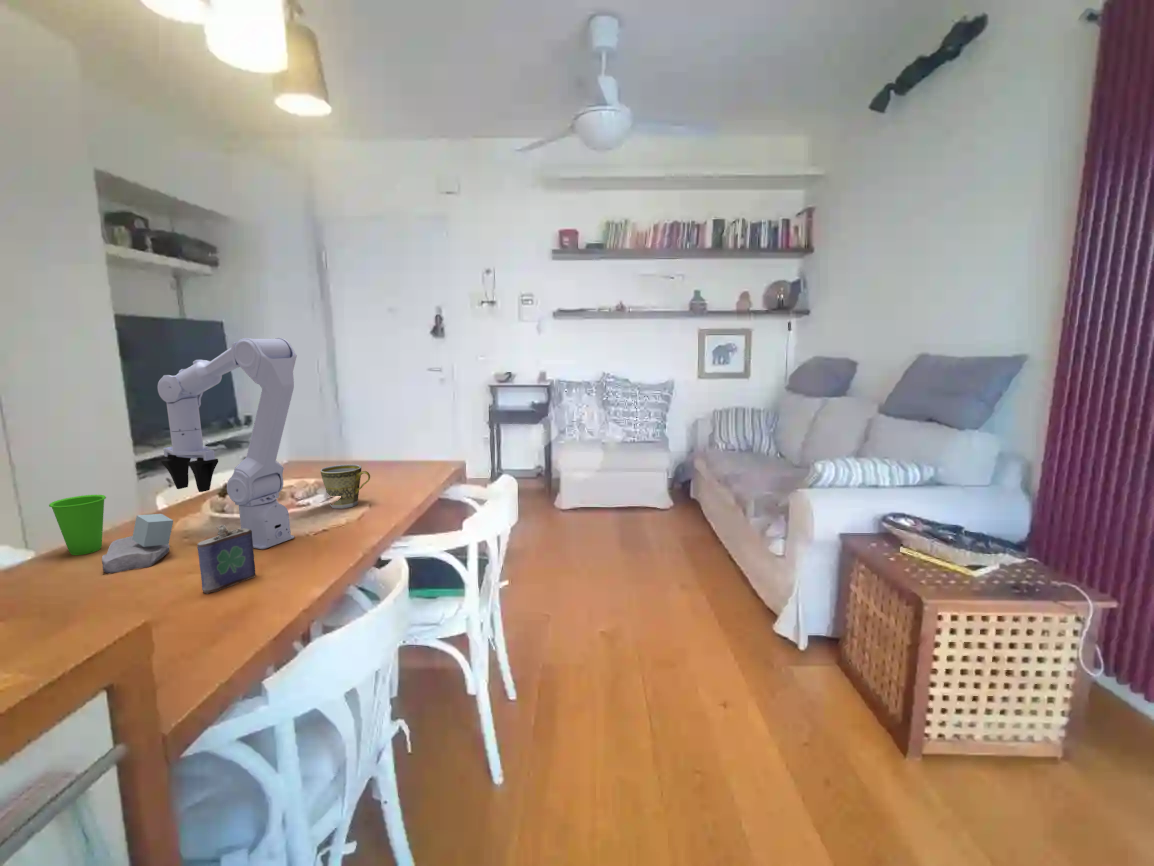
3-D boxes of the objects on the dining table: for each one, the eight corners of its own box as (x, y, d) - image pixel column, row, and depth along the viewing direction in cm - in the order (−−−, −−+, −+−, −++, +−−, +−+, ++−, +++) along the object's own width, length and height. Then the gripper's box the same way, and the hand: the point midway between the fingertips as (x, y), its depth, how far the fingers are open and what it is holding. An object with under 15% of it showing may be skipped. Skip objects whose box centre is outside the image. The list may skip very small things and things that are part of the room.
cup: (110, 540, 128) (103, 492, 126) (115, 550, 121) (108, 499, 119) (56, 551, 121) (47, 500, 120) (58, 562, 115) (50, 509, 113)
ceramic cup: (315, 510, 149) (312, 472, 147) (337, 499, 158) (334, 463, 157) (362, 511, 146) (359, 473, 145) (381, 501, 156) (378, 464, 155)
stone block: (170, 556, 123) (111, 556, 118) (173, 534, 123) (113, 533, 118) (163, 577, 113) (98, 578, 108) (165, 553, 113) (100, 553, 108)
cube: (168, 544, 117) (173, 520, 116) (143, 546, 113) (148, 522, 112) (156, 537, 119) (161, 513, 118) (131, 539, 115) (136, 515, 114)
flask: (207, 595, 99) (200, 534, 97) (198, 591, 100) (190, 532, 98) (259, 575, 107) (253, 519, 105) (249, 573, 108) (243, 517, 106)
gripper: (225, 428, 128) (231, 488, 130) (183, 425, 134) (190, 482, 136) (193, 433, 122) (200, 495, 124) (150, 430, 127) (158, 489, 129)
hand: (193, 489), depth 129 cm, fingers open, 7 cm apart
